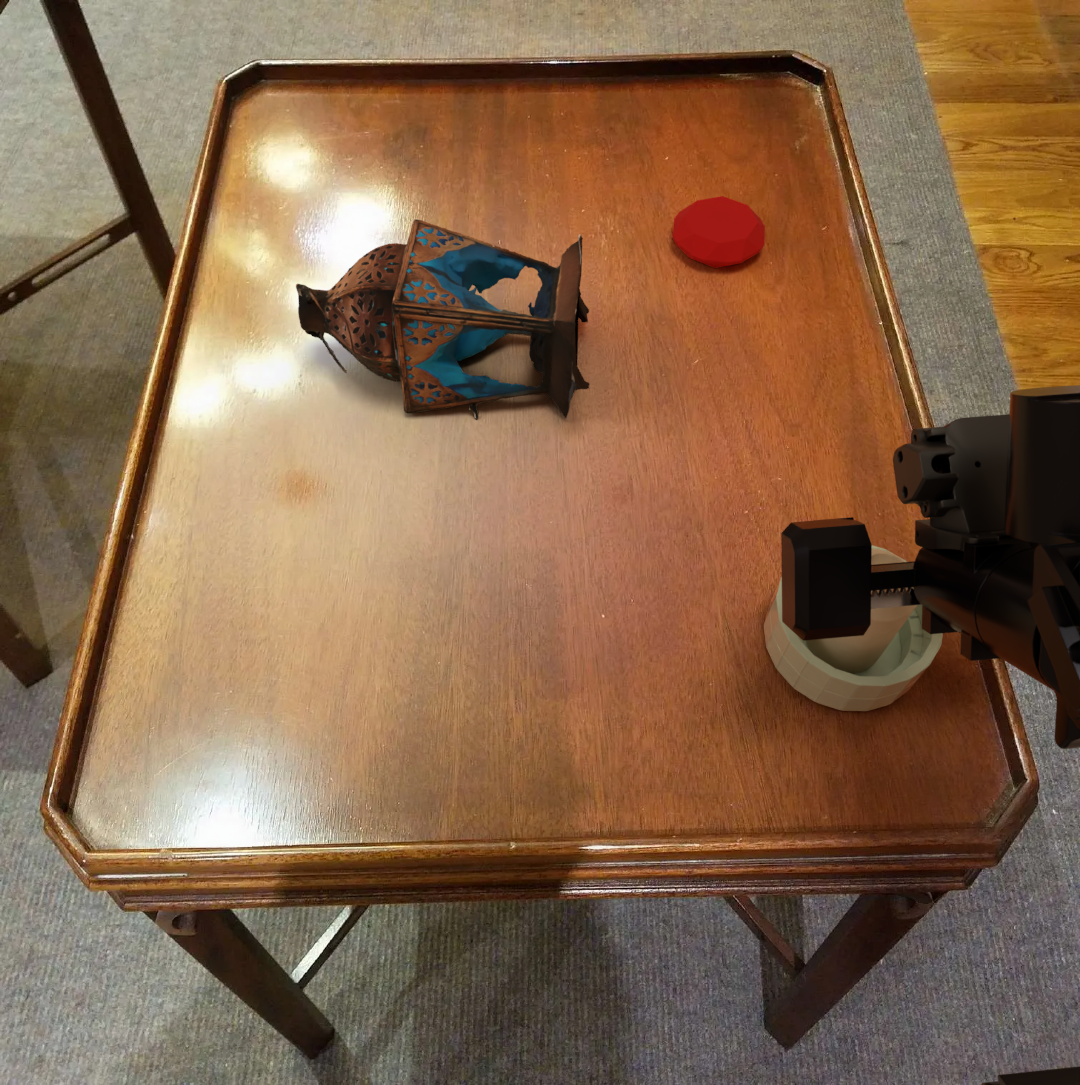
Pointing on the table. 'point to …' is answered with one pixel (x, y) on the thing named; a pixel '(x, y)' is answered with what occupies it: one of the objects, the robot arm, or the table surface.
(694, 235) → the gemstone
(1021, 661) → the robot arm
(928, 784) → the table surface
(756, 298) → the table surface
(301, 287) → the lantern
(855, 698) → the bowl
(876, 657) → the candle
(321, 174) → the table surface
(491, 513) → the table surface
